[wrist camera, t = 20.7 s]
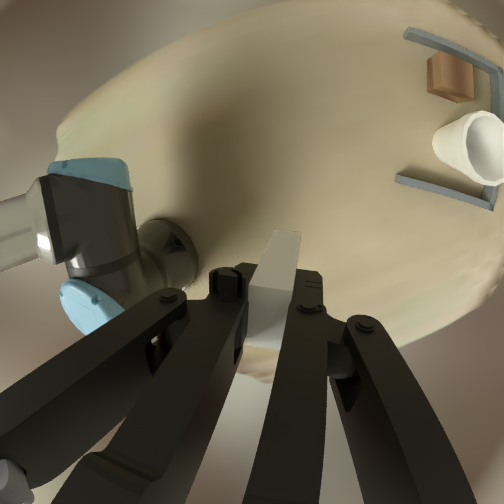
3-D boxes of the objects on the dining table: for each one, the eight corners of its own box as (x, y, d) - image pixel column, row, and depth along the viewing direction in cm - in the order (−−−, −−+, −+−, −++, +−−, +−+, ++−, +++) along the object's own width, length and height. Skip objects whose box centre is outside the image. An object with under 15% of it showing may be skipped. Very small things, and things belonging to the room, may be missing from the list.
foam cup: (477, 155, 32) (522, 163, 20) (444, 184, 35) (484, 200, 24) (449, 107, 30) (490, 98, 19) (413, 135, 34) (449, 132, 22)
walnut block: (426, 91, 31) (441, 85, 25) (426, 60, 28) (440, 50, 23) (456, 103, 30) (473, 99, 24) (456, 72, 27) (472, 64, 22)
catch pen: (394, 181, 38) (400, 183, 35) (403, 32, 27) (408, 26, 25) (484, 207, 34) (493, 211, 32) (494, 71, 24) (502, 68, 21)
